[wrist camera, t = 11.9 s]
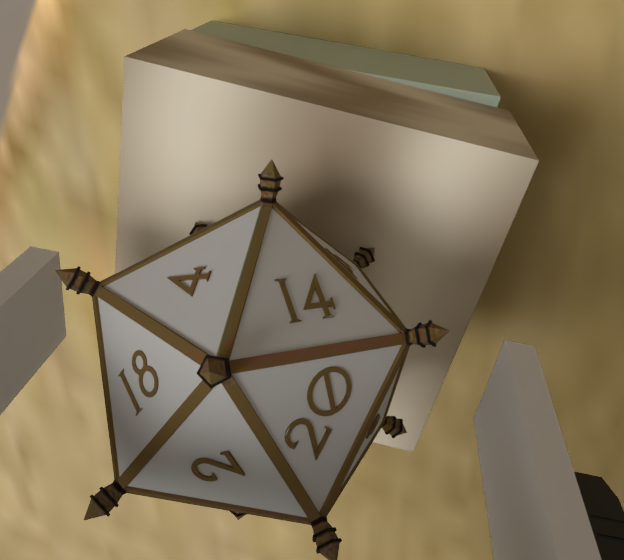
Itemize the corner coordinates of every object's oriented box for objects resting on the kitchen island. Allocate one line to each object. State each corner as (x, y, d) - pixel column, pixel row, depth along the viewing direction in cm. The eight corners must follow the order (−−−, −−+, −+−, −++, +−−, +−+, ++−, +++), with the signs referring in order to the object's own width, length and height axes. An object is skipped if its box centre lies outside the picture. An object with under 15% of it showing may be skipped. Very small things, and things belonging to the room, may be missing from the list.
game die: (279, 173, 20) (222, 12, 10) (463, 351, 19) (594, 361, 10) (90, 361, 20) (-157, 381, 10) (269, 551, 19) (193, 780, 9)
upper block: (159, 300, 25) (110, 375, 21) (185, 29, 20) (125, 56, 15) (411, 363, 25) (412, 452, 21) (509, 110, 20) (539, 160, 15)
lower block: (201, 255, 30) (167, 309, 26) (213, 19, 24) (172, 38, 20) (418, 296, 29) (421, 359, 25) (483, 66, 24) (500, 96, 19)
